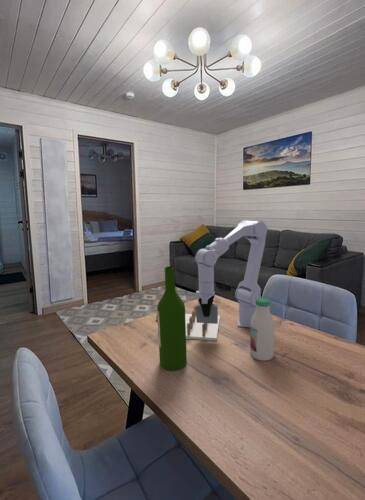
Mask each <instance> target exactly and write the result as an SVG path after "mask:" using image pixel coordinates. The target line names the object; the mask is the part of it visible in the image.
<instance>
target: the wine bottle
mask: <svg viewBox="0 0 365 500" xmlns="http://www.w3.org/2000/svg"><path fill="white" fill-rule="evenodd" d="M175 277H176V275H175V267H174V266H165V267H164V287H165V288H164V289H165V290H164V293H163V295H162V296H161V298H160V300H159V302H158V303H157V308H156V316H157V318H158V320H157V332H158V350H159V351H158V352H159V354H158V355H159V365H160V367H161V368H162V369H163V370H165V371H169V372H170V371H171V372H172V371H173V372H175V371H180V370H182V369H183V368H185V367H186V366H187V363H188V359H187V357H188V356H187V339H186V322H185V314H186V306H185V302H184V301H183V300H182V298H181V297H180V295H179V294H178V292H177V291H176V278H175Z"/></svg>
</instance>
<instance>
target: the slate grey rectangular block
mask: <svg viewBox="0 0 365 500" xmlns="http://www.w3.org/2000/svg"><path fill="white" fill-rule="evenodd" d="M195 306H196V316H197V323H212V324H218V315H219V307H218V306H219V304H218V303H212V305H211V310H210V316H209V317H204V316H203V312H202V308H201V305H200V304H199V302H197V303H196V304H195Z"/></svg>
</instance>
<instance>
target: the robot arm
mask: <svg viewBox="0 0 365 500" xmlns="http://www.w3.org/2000/svg"><path fill="white" fill-rule="evenodd" d="M267 233H268V226H267V225H266V223H265V222H264V221H263V220H246V219H244V220H242V221H241V222H239V223H238V224H237V226H236V227H235V228H234V229H233V230H231V231H230V232H229V233H228V234H227V235H226V236H224V237H216V238H215V239H214V241H213V242H212V243H210V244H209V245H206V246H205V247H204V248H200V249H198V250H197V252H196V254H195V256H194V261H195V262H196V264H197V267H198V268H197V269H198V272H197V273H198V274H197V275H198V290H196V292H195V294H196V295H198V296H199V298H198V300H197V301H198V302H197V303H199V304H200V305H201V308H202V312H203V316H204V317H209V316H210V310H211V305H212V304H214V298H215V293H216V292H215V271H214V270H215V269H214V268H215V264H216V263H217V261H218V259H219V258H220V257H221V256H223V254H225V253H226V252H227V251H228V250H229V248H230V245H232V244H233V243H235V242H237V241H238V240H240V239H241V238H243V237H244V238H245V239H247V240H248V241H249V243H250V249H249V253H248V258H247V262H246V268H245V273H244V276H243V277H244V278H243V280H242V281H240V282H239V283H238V286H237V288H236V290H235V291H234V292H235V295H234V297H235V298H236V300H237V302H238V318H237V326H238V328H239V327H240V328H251V320H252V317H253V315H254V313H255V311H256V299H257V298H262V296H261V293H262V287H260V285H259V284H258V279H259V273H260V269H261V264H262V260H263V255H264V250H265V246H266V237H267Z"/></svg>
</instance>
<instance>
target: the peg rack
mask: <svg viewBox="0 0 365 500" xmlns="http://www.w3.org/2000/svg"><path fill="white" fill-rule="evenodd" d="M220 321H221V315H220V314H218V324H212V323H197V316H196V305H194V306H193V310H192V311H191V313H185V322H186V340H189V339H190V340H201V341H214V342H217V341H218V340H217V339H218V334H219V328H220Z"/></svg>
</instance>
